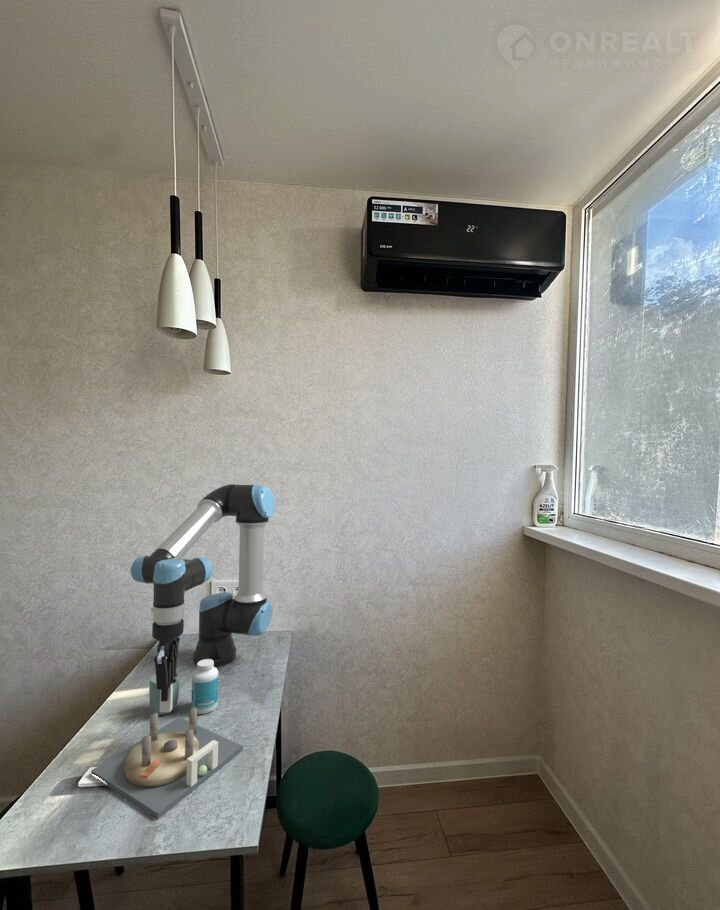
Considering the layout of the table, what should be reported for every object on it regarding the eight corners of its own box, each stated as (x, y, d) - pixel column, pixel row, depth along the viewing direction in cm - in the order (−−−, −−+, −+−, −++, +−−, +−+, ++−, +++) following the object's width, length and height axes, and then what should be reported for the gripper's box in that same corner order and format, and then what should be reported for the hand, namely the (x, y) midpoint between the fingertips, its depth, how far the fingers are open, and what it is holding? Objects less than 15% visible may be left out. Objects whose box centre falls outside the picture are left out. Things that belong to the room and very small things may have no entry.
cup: (167, 720, 120) (168, 685, 120) (142, 716, 122) (143, 681, 122) (183, 705, 128) (184, 671, 128) (160, 701, 129) (161, 668, 129)
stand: (179, 721, 120) (179, 696, 120) (243, 750, 108) (243, 723, 108) (91, 775, 99) (92, 746, 99) (158, 819, 87) (159, 786, 87)
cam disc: (174, 729, 114) (175, 699, 114) (217, 749, 106) (218, 717, 106) (110, 769, 99) (111, 735, 99) (154, 797, 91) (155, 759, 91)
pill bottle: (223, 706, 128) (224, 660, 128) (202, 718, 121) (203, 670, 121) (206, 698, 131) (207, 654, 132) (185, 710, 125) (186, 664, 125)
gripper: (162, 611, 118) (159, 697, 117) (143, 630, 105) (140, 726, 104) (190, 611, 119) (188, 696, 118) (175, 629, 106) (172, 725, 105)
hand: (165, 710), depth 111 cm, fingers closed
